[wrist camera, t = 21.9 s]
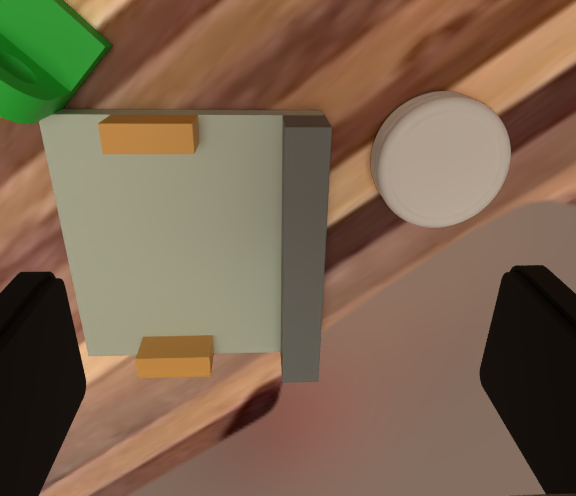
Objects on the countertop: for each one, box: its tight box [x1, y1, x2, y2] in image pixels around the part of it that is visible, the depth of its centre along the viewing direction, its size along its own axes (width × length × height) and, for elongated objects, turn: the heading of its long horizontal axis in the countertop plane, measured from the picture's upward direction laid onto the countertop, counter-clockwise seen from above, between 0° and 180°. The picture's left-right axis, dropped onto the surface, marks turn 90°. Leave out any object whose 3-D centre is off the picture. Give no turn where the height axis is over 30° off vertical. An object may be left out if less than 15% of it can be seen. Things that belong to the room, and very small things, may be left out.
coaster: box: [371, 91, 511, 228], centre depth 37 cm, size 10×10×4 cm
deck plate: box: [39, 109, 332, 383], centre depth 38 cm, size 20×21×6 cm
